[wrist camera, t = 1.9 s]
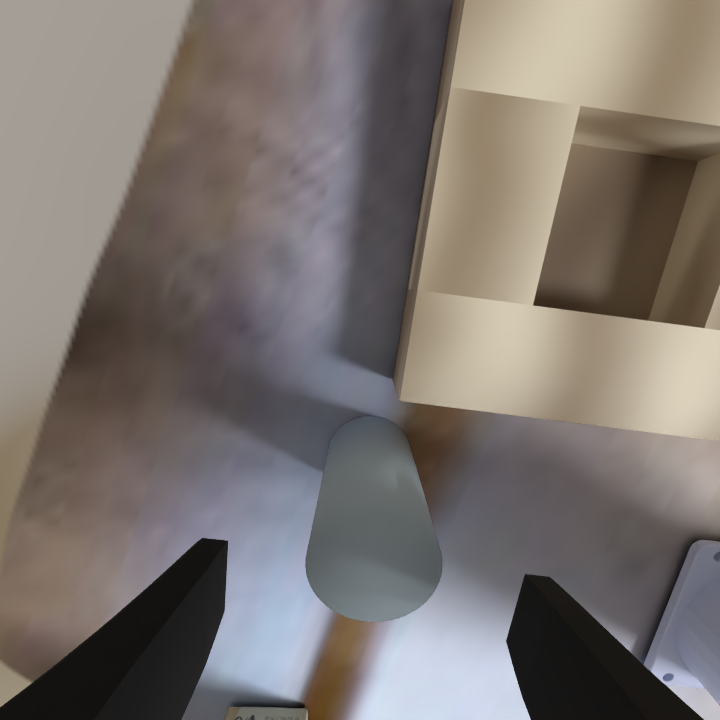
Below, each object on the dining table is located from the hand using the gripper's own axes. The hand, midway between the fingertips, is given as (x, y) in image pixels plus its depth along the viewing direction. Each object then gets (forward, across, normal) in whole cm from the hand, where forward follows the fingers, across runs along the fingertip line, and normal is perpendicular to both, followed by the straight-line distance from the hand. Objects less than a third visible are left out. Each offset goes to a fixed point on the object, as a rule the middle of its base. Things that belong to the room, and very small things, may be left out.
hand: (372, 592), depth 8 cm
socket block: (+7, -7, -10) cm, 14 cm away
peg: (+7, 0, 0) cm, 7 cm away
